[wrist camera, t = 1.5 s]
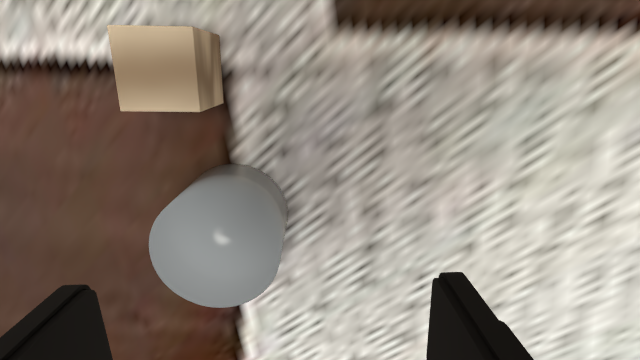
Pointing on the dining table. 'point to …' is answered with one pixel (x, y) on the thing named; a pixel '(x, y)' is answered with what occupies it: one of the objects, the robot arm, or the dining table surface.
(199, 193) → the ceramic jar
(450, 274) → the robot arm
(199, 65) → the maple block
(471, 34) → the dining table surface
